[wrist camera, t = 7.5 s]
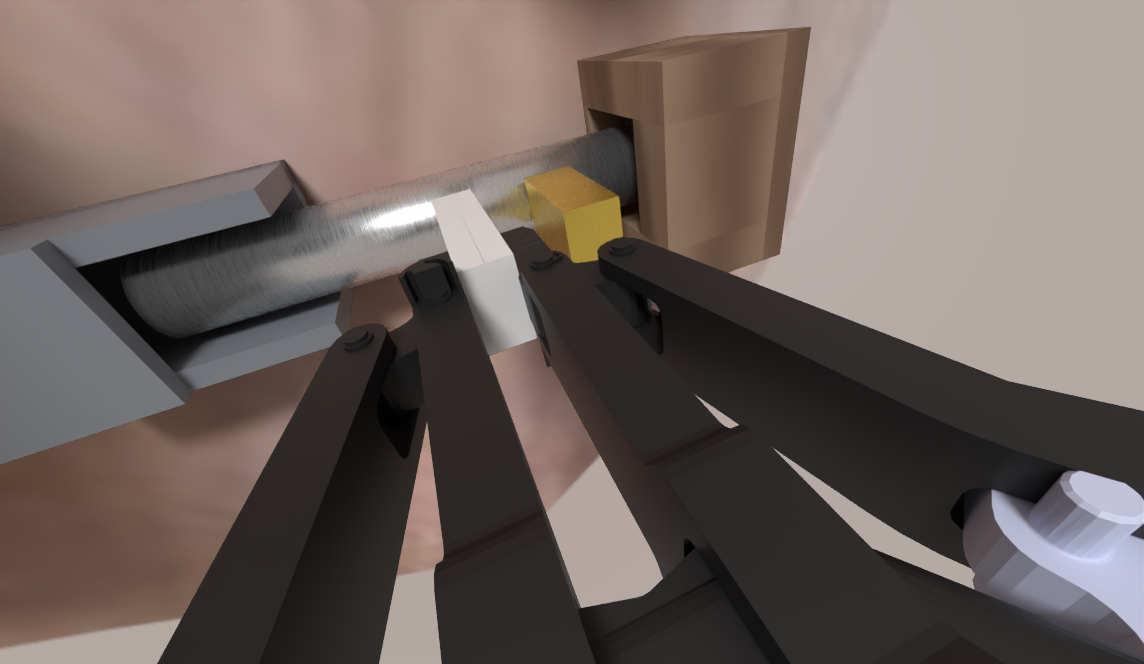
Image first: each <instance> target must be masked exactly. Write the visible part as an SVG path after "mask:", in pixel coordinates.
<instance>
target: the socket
mask: <svg viewBox="0 0 1144 664" xmlns="http://www.w3.org/2000/svg"><path fill="white" fill-rule="evenodd" d="M810 30H811V27H803V28H790V29H777V30H763V31H750V32H737V33H724V34H710V35H697V36H686V37H681V38H677V39H672V40H668V41H663V42H659V43H654V44H650V45H645V46H641V47H636V48H632V49H627V50H623V51H619V52H614V53H610V54H605V55H601V56H596V57H592V58H587V59H583V60H578V69H579V77H580V84H581V92H582V99H583V107H584V114H585V122H586V129H587V134H590V133H594V132H598V131H601V130H605V129H609V128H613V127H617V126H621V125H622V124H623V123H624V121H625V120H627V119H629V118H631V119H633V130H634V144H635V158H636V172H637V185H638V199H639V202H635V203H632V204H629V205H625V206H622V207H620V211H621V221H622V231H623V237H626V238H637V239H641V240H644V241H647V242H649V243H652V244H654V245H657V246H660V247H662V248H665V249H667V250H670V251H672V252H675V253H678V254H680V255H683V256H685V257H688V258H691V259H693V260H696V261H698V262H701V263H704V264H706V265H709V266H711V267H714V268H716V269H719V270H722V271H724V272H727V273H728V272H730V271H733V270H736V269H739V268H742V267H745V266H747V265H750V264H753V263H756V262H759V261H762V260H765V259H767V258H770V257H773V256H776V255H779V254H780V248H781V241H782V234H783V226H784V219H785V212H786V205H787V197H788V190H789V183H790V176H791V168H792V161H793V154H794V146H795V139H796V132H797V125H798V117H799V110H800V103H801V96H802V88H803V81H804V74H805V66H806V59H807V52H808V45H809V37H810Z"/></svg>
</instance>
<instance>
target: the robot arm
mask: <svg viewBox="0 0 1144 664" xmlns="http://www.w3.org/2000/svg"><path fill="white" fill-rule="evenodd" d="M431 203H432V206H433V209H434V212H435V214H436V217H437V220H438V223H439V226H440V229H441V232H442V235H443V238H444V241H445V244H446V247H447V250H448V251H447V252H443V253H440V254H437V255H434V256H431V257H428V258H424V259H421V260H418V262H416V263H413V264H412V265H410V266H408V267H407V268H405V269H404V270H403V271H402V272H401V273H400V276H399V280H400V282H401V285H402V287H403V289H404V291H405V293H406V295H407V297H408V299H409V301H410V303H411V305H412V309H413V317H412V318H411V319H410V320H409V321H408V322H406V323H405V324H403V325H402V326H400V327H399V328H397V329H395V330H393V331H391V332H389V333H388V331H387V329H386V328H385V327H384V326H383V325H380V324H367V325H363V326H360V327H355V328H352V329H351V330H348V331H347V332H345V333H344V334H343V335H342V336H340V337H339V338H338V339H337V340H335V342H334V343H333V344H332V345H331V347H330V348H329V350H328V352H327V354H326V356H325V357H324V359H323V361H322V363H321V365H320V367H319V368H318V370H317V372H316V374H315V376H314V378H313V379H312V381H311V383H310V385H309V387H308V389H307V390H306V392H305V394H304V396H303V398H302V400H301V401H300V403H299V405H298V407H297V409H296V411H295V412H294V414H293V416H292V418H291V420H290V422H289V423H288V425H287V427H286V429H285V431H284V433H283V434H282V436H281V438H280V440H279V442H278V444H277V445H276V447H275V449H274V451H273V453H272V455H271V456H270V458H269V460H268V462H267V464H266V466H265V467H264V469H263V471H262V473H261V475H260V477H259V478H258V480H257V482H256V484H255V486H254V488H253V489H252V491H251V493H250V495H249V497H248V499H247V500H246V502H245V504H244V506H243V508H242V509H241V511H240V513H239V515H238V517H237V519H236V520H235V522H234V524H233V526H232V528H231V530H230V531H229V533H228V535H227V537H226V539H225V541H224V542H223V544H222V546H221V548H220V550H219V552H218V553H217V555H216V557H215V559H214V561H213V563H212V564H211V566H210V568H209V570H208V572H207V574H206V575H205V577H204V579H203V581H202V583H201V585H200V586H199V588H198V590H197V592H196V594H195V596H194V597H193V599H192V601H191V603H190V605H189V607H188V608H187V610H186V612H185V614H184V616H183V618H182V619H181V621H180V623H179V625H178V627H177V629H176V630H175V632H174V634H173V636H172V638H171V640H170V641H169V643H168V645H167V647H166V649H165V650H164V652H163V654H162V656H161V658H160V660H159V661H158V663H157V664H379V660H380V655H381V650H382V645H383V640H384V634H385V630H386V624H387V620H388V615H389V610H390V605H391V600H392V594H393V589H394V585H395V580H396V574H397V569H398V564H399V559H400V554H401V549H402V544H403V539H404V534H405V529H406V524H407V519H408V514H409V509H410V504H411V499H412V494H413V489H414V484H415V479H416V474H417V468H418V463H419V458H420V453H421V448H422V443H423V438H424V433H425V428H426V423H428V431H429V439H430V446H431V454H432V461H433V469H434V477H435V484H436V492H437V500H438V507H439V515H440V523H441V530H442V538H443V546H444V558H443V561H441V562H439V563H438V564H436V567H435V572H434V589H435V590H434V592H435V602H436V611H437V621H438V631H439V641H440V650H441V660H442V664H1144V411H1141V410H1136V409H1132V408H1127V407H1123V406H1118V405H1114V404H1109V403H1105V402H1100V401H1096V400H1091V399H1087V398H1082V397H1077V396H1073V395H1068V394H1064V393H1059V392H1055V391H1050V390H1046V389H1041V388H1037V387H1032V386H1027V385H1022V384H1018V383H1014V382H1009V381H1006V380H1003V379H1001V378H998V377H996V376H993V375H991V374H988V373H985V372H983V371H980V370H978V369H975V368H972V367H970V366H967V365H965V364H962V363H960V362H957V361H954V360H951V359H949V358H946V357H944V356H941V355H939V354H936V353H934V352H931V351H928V350H926V349H923V348H921V347H918V346H915V345H913V344H910V343H908V342H905V341H903V340H900V339H897V338H895V337H892V336H890V335H887V334H885V333H882V332H879V331H877V330H874V329H871V328H869V327H866V326H864V325H861V324H859V323H856V322H854V321H851V320H848V319H846V318H843V317H841V316H838V315H835V314H833V313H830V312H828V311H825V310H822V309H820V308H817V307H815V306H812V305H810V304H807V303H804V302H802V301H799V300H796V299H794V298H791V297H789V296H786V295H784V294H781V293H778V292H776V291H773V290H771V289H768V288H766V287H763V286H760V285H758V284H755V283H753V282H750V281H747V280H745V279H742V278H740V277H737V276H735V275H732V274H729V273H727V272H724V271H722V270H719V269H716V268H714V267H711V266H709V265H706V264H704V263H701V262H698V261H696V260H693V259H691V258H688V257H685V256H683V255H680V254H678V253H675V252H672V251H670V250H667V249H665V248H662V247H660V246H657V245H654V244H652V243H649V242H647V241H644V240H641V239H637V238H626V237H619V238H615V239H612V240H611V241H608V242H606V243H604V244H603V245H601V246H600V247H599V249H598V250H597V254H598V260H594V261H588V262H580V263H573V261H572V260H571V259H570V258H569V257H568V256H567V255H566V254H564V253H563V252H559V251H551V250H550V249H549V247H548V246H547V245H546V244H545V243H544V242H543V241H542V239H541V238H540V237H539V236H538V235H537V234H536V232H535V231H534V230H533V229H530V228H527V227H524V226H522V227H519V228H515V229H512V230H509V231H506V232H503V233H499V232H498V230H497V229H496V227H495V226H494V224H493V223H492V221H491V220H490V218H489V217H488V215H487V214H486V212H485V211H484V209H483V208H482V206H481V205H480V203H479V202H478V200H477V198H476V197H475V195H474V194H473V192H472V191H471V189H468V190H465V191H461V192H458V193H454V194H451V195H447V196H444V197H441V198H437V199H434V200H431ZM652 301H653V302H654V303H655V304H656V305H657V306H658V308H659V310H660V312H657V311H655V310H654V309H652ZM534 327H535V329H536V331H537V333H538V336H539V340H540V343H541V347H542V351H543V354H544V358H545V361H546V365H547V367H550V366H552V367H553V369H554V371H555V373H556V375H557V377H558V378H559V380H560V382H561V384H562V386H563V388H564V389H565V391H566V393H567V395H568V397H569V399H570V401H571V402H572V404H573V406H574V408H575V410H576V412H577V413H578V415H579V417H580V419H581V421H582V423H583V425H584V426H585V428H586V430H587V432H588V434H589V436H590V437H591V439H592V441H593V443H594V445H595V447H596V448H597V450H598V452H599V454H600V456H601V458H602V460H603V461H604V463H605V465H606V467H607V468H608V470H609V472H610V474H611V476H612V478H613V480H614V481H615V483H616V485H617V487H618V489H619V491H620V493H621V494H622V496H623V498H624V500H625V502H626V503H627V506H628V507H629V509H630V511H631V513H632V515H633V516H634V518H635V520H636V522H637V524H638V526H639V528H640V529H641V531H642V533H643V535H644V537H645V539H646V541H647V542H648V544H649V546H650V548H651V550H652V552H653V554H654V556H655V558H656V561H657V563H658V565H659V568H660V571H661V574H662V576H663V579H662V580H661V581H660V582H659V583H658V584H657V585H656V586H655V587H654V588H653V589H652V590H651V591H650V592H648V593H647V594H645V595H643V596H641V597H638V598H632V599H627V600H622V601H617V602H611V603H606V604H601V605H596V606H591V607H585V608H581V607H580V604H579V602H578V599H577V596H576V594H575V591H574V588H573V585H572V583H571V580H570V577H569V574H568V571H567V569H566V566H565V564H564V560H563V558H562V555H561V552H560V550H559V547H558V544H557V541H556V539H555V536H554V533H553V531H552V528H551V525H550V522H549V519H548V517H547V514H546V511H545V508H544V505H543V503H542V500H541V497H540V495H539V492H538V489H537V486H536V484H535V481H534V478H533V475H532V473H531V470H530V467H529V464H528V462H527V459H526V456H525V453H524V451H523V448H522V445H521V442H520V440H519V437H518V434H517V431H516V429H515V426H514V423H513V420H512V418H511V415H510V412H509V409H508V407H507V404H506V401H505V398H504V396H503V393H502V390H501V387H500V385H499V382H498V379H497V376H496V374H495V371H494V368H493V365H492V363H491V360H490V358H489V356H490V355H493V354H496V353H498V352H501V351H504V350H506V349H509V348H512V347H515V346H517V345H520V344H523V343H525V342H528V341H531V340H533V339H536V338H537V336H536V332H535V329H534ZM693 393H694V394H695V395H697V396H698V397H699V398H701V399H702V400H704V401H705V402H707V403H708V404H710V405H711V406H713V407H714V408H716V409H717V410H718V411H720V412H721V413H723V414H724V415H726V416H727V417H729V418H730V419H732V420H733V421H735V422H736V423H738V424H739V425H738V426H736V427H733V428H727V427H725V426H724V425H723V424H721V423H720V422H719V421H718V420H717V419H716V418H715V416H713V414H712V413H711V412H710V411H709V410H708V409H707V408H706V407H705V406H704V405H703V403H702V402H701V401H700V400H699V399H698V398H697V397H696V396H695V395H694V394H693ZM772 447H773V448H774V449H776V450H777V451H779V452H780V453H782V454H783V455H784V456H786V457H787V458H789V459H790V460H792V461H793V462H795V463H796V464H798V465H799V466H801V467H802V468H803V469H805V470H806V471H808V472H809V473H811V474H812V475H814V476H815V477H817V478H818V479H820V480H821V481H822V482H824V483H825V484H827V485H828V486H830V487H831V488H833V489H834V490H836V491H837V492H839V493H840V494H842V495H843V496H845V497H846V498H847V499H849V500H850V501H852V502H853V503H855V504H856V505H858V506H859V507H861V508H862V509H864V510H865V511H866V512H868V513H870V514H871V515H873V516H874V517H876V518H877V519H879V520H881V521H882V522H884V523H885V524H887V525H889V526H890V527H892V528H893V529H895V530H897V531H898V532H900V533H901V534H903V535H905V536H907V537H909V538H911V539H913V540H914V541H916V542H918V543H920V544H922V545H924V546H926V547H928V548H929V549H931V550H933V551H935V552H937V553H939V554H941V555H943V556H945V557H947V558H950V559H952V560H954V561H956V562H958V563H961V564H963V565H965V566H967V567H969V568H971V569H972V571H973V572H974V573H975V576H974V578H973V584H974V588H975V590H974V589H972V588H969V587H966V586H964V585H962V584H959V583H957V582H954V581H952V580H949V579H947V578H944V577H942V576H939V575H937V574H934V573H932V572H929V571H927V570H924V569H922V568H919V567H917V566H914V565H912V564H910V563H907V562H904V561H902V560H900V559H897V558H895V557H892V556H890V555H887V554H885V553H882V552H880V551H877V550H874V549H872V548H871V547H870V546H869V545H868V544H867V543H866V542H865V541H864V540H863V539H862V538H861V537H860V536H859V535H858V534H857V533H856V532H855V531H854V530H853V529H852V528H851V527H850V526H849V525H848V524H847V523H846V522H845V521H844V520H843V519H842V518H841V517H840V516H839V515H838V514H837V513H836V512H835V511H834V510H833V509H832V508H831V507H830V505H829V504H828V503H827V502H826V501H825V500H824V499H823V498H822V497H821V496H820V495H819V494H818V493H817V492H816V491H815V490H814V489H813V488H811V486H810V485H809V484H808V483H807V482H806V481H805V480H804V479H803V478H802V477H801V476H800V475H799V474H798V473H797V472H796V471H795V470H794V469H793V468H792V467H791V466H790V465H789V464H788V463H787V462H786V461H785V460H784V459H783V458H782V457H781V456H780V455H779V454H778V453H777V452H776V451H775V450H774V449H773V448H772Z"/></svg>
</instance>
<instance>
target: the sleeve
mask: <svg viewBox="0 0 1144 664" xmlns="http://www.w3.org/2000/svg"><path fill="white" fill-rule="evenodd" d="M305 207H309V205H308V203H307V201H306V199H305V198H304V196H303V194H302V192H301V190H300V188H299V186H298V185H297V183H296V181H295V179H294V177H293V175H292V174H291V172H290V170H289V168H288V166H287V164H286V162H285V161H284V160H280V161H276V162H271V163H267V164H263V165H259V166H255V167H250V168H246V169H242V170H238V171H233V172H229V173H225V174H221V175H217V176H212V177H208V178H204V179H200V180H196V181H191V182H187V183H183V184H179V185H174V186H170V187H166V188H162V189H158V190H153V191H149V192H145V193H141V194H137V195H132V196H128V197H124V198H120V199H116V200H111V201H107V202H103V203H99V204H94V205H90V206H86V207H82V208H78V209H73V210H69V211H65V212H61V213H57V214H52V215H48V216H44V217H40V218H35V219H31V220H27V221H23V222H19V223H14V224H10V225H6V226H2V227H0V464H3V463H6V462H9V461H13V460H16V459H19V458H22V457H25V456H28V455H31V454H34V453H37V452H40V451H43V450H46V449H49V448H52V447H55V446H58V445H61V444H65V443H68V442H71V441H74V440H77V439H80V438H83V437H86V436H89V435H92V434H95V433H98V432H101V431H104V430H107V429H110V428H113V427H116V426H120V425H123V424H126V423H129V422H132V421H135V420H138V419H141V418H144V417H147V416H150V415H153V414H156V413H159V412H162V411H165V410H168V409H172V408H175V407H178V406H181V405H184V404H186V402H187V400H188V399H189V397H190V395H191V394H192V392H193V391H195V390H198V389H201V388H204V387H207V386H210V385H213V384H217V383H220V382H223V381H226V380H229V379H232V378H235V377H238V376H241V375H244V374H248V373H251V372H254V371H257V370H260V369H263V368H266V367H269V366H272V365H275V364H279V363H282V362H285V361H288V360H291V359H294V358H297V357H300V356H303V355H306V354H310V353H313V352H316V351H319V350H322V349H325V348H328V347H331V345H332V344H333V343H334V342H335V340H337V339H338V338H339V337H340V336H342V335H343V334H344V333H345V332H347V331H348V327H349V320H350V314H351V307H352V301H353V294H354V288H353V287H352V288H349V289H345V290H342V291H339V292H335V293H332V294H329V295H325V296H322V297H319V298H315V299H312V300H309V301H305V302H302V303H299V304H295V305H292V306H289V307H285V308H282V309H279V310H275V311H272V312H269V313H265V314H262V315H259V316H255V317H252V318H249V319H245V320H242V321H239V322H235V323H232V324H229V325H225V326H222V327H219V328H215V329H212V330H209V331H205V332H202V333H199V334H195V335H192V336H189V337H185V338H172V337H168V336H166V335H164V334H162V333H160V332H158V331H156V330H155V329H154V328H152V327H151V326H150V325H149V324H147V323H146V322H145V321H144V320H143V319H142V318H141V317H140V316H139V314H138V313H137V312H136V311H135V309H134V308H133V307H132V305H131V303H130V302H129V300H128V298H127V296H126V294H125V292H124V289H123V286H122V283H121V277H120V267H121V263H122V261H123V259H124V258H125V257H126V256H127V255H128V254H130V253H134V252H138V251H141V250H145V249H149V248H153V247H157V246H161V245H164V244H168V243H172V242H176V241H180V240H184V239H187V238H191V237H195V236H199V235H203V234H207V233H211V232H214V231H218V230H222V229H226V228H230V227H234V226H237V225H241V224H245V223H249V222H253V221H257V220H261V219H264V218H268V217H271V216H275V215H278V214H282V213H286V212H290V211H294V210H298V209H302V208H305Z"/></svg>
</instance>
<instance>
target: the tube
mask: <svg viewBox="0 0 1144 664" xmlns="http://www.w3.org/2000/svg"><path fill="white" fill-rule="evenodd" d="M468 189H471V191H472V192H473V194H474V195H475V197H476V198H477V200H478V202H479V203H480V205H481V206H482V208H483V209H484V211H485V212H486V214H487V215H488V217H489V218H490V220H491V221H492V223H493V224H494V226H495V227H496V229H497V230H498V232H499V233H503V232H506V231H509V230H512V229H515V228H519V227H522V226H524V227H527V228H530V229H533V230H534V231H535V232H536V233H537V234H538V235H539V236H540V237H541V239H542V240H543V241H544V242H545V243H546V244H547V246H548V247H549V248H550V249H551V250H552V251H559V252H563V253H564V254H566V255H567V256H568V257H569V258H570V259H571V260H572V261H573V263H580V262H588V261H594V260H598V254H597V250H598V249H599V247H600V246H601V245H603V244H604V243H606V242H608V241H611V240H612V239H615V238H619V237H623V231H622V221H621V211H620V207H622V206H625V205H629V204H632V203H635V202H639V199H638V185H637V172H636V158H635V144H634V130H633V119H631V118H629V119H627V120H625V121H624V123H623V124H622V125H621V126H617V127H613V128H609V129H605V130H601V131H598V132H594V133H590V134H586V135H582V136H578V137H575V138H571V139H567V140H563V141H559V142H555V143H551V144H548V145H544V146H540V147H536V148H532V149H528V150H525V151H521V152H517V153H513V154H509V155H505V156H502V157H498V158H494V159H490V160H486V161H482V162H478V163H475V164H471V165H467V166H463V167H459V168H455V169H452V170H448V171H444V172H440V173H436V174H432V175H428V176H425V177H421V178H417V179H413V180H409V181H405V182H402V183H398V184H394V185H390V186H386V187H382V188H378V189H375V190H371V191H367V192H363V193H359V194H355V195H352V196H348V197H344V198H340V199H336V200H332V201H328V202H325V203H321V204H317V205H313V206H309V207H305V208H302V209H298V210H294V211H290V212H286V213H282V214H278V215H275V216H271V217H268V218H264V219H261V220H257V221H253V222H249V223H245V224H241V225H237V226H234V227H230V228H226V229H222V230H218V231H214V232H211V233H207V234H203V235H199V236H195V237H191V238H187V239H184V240H180V241H176V242H172V243H168V244H164V245H161V246H157V247H153V248H149V249H145V250H141V251H138V252H134V253H130V254H128V255H127V256H126V257H125V258H124V259H123V261H122V263H121V267H120V277H121V283H122V286H123V289H124V292H125V294H126V296H127V298H128V300H129V302H130V303H131V305H132V307H133V308H134V309H135V311H136V312H137V313H138V314H139V316H140V317H141V318H142V319H143V320H144V321H145V322H146V323H147V324H149V325H150V326H151V327H152V328H154V329H155V330H156V331H158V332H160V333H162V334H164V335H166V336H168V337H172V338H185V337H189V336H192V335H195V334H199V333H202V332H205V331H209V330H212V329H215V328H219V327H222V326H225V325H229V324H232V323H235V322H239V321H242V320H245V319H249V318H252V317H255V316H259V315H262V314H265V313H269V312H272V311H275V310H279V309H282V308H285V307H289V306H292V305H295V304H299V303H302V302H305V301H309V300H312V299H315V298H319V297H322V296H325V295H329V294H332V293H335V292H339V291H342V290H345V289H349V288H352V287H355V286H359V285H362V284H365V283H369V282H372V281H375V280H379V279H382V278H385V277H389V276H392V275H395V274H399V273H401V272H402V271H403V270H404V269H405V268H407V267H408V266H410V265H412V264H413V263H416V262H418V260H421V259H424V258H428V257H431V256H434V255H437V254H440V253H443V252H447V251H448V250H447V247H446V244H445V241H444V238H443V235H442V232H441V229H440V226H439V223H438V220H437V217H436V214H435V212H434V209H433V206H432V203H431V200H434V199H437V198H441V197H444V196H447V195H451V194H454V193H458V192H461V191H465V190H468Z"/></svg>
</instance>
